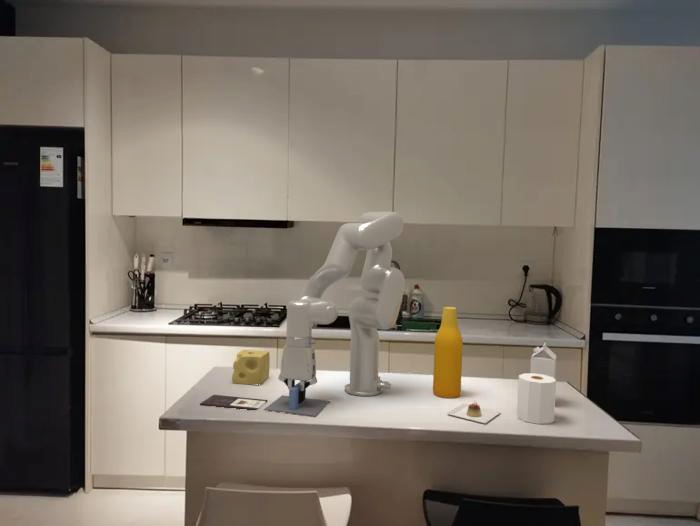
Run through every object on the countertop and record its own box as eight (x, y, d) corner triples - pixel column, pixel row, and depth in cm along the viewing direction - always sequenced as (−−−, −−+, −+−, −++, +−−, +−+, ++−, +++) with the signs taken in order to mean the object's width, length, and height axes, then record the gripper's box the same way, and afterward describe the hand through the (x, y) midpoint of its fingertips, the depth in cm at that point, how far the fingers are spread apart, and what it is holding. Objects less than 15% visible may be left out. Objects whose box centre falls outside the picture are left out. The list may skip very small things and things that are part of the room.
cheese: (231, 383, 183) (232, 355, 182) (243, 375, 193) (243, 348, 193) (260, 386, 181) (261, 357, 181) (270, 377, 192) (271, 350, 191)
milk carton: (554, 401, 173) (557, 343, 172) (552, 407, 167) (555, 347, 165) (531, 397, 176) (533, 340, 175) (528, 403, 170) (531, 344, 168)
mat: (330, 402, 166) (330, 400, 166) (315, 416, 153) (315, 415, 153) (282, 396, 170) (282, 395, 170) (263, 410, 157) (263, 409, 157)
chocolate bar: (213, 394, 169) (267, 400, 165) (213, 397, 169) (267, 403, 165) (199, 403, 160) (256, 409, 156) (199, 406, 160) (256, 412, 156)
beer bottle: (452, 389, 183) (455, 305, 181) (466, 397, 174) (469, 309, 173) (427, 391, 180) (430, 306, 178) (440, 399, 171) (444, 310, 170)
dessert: (485, 427, 150) (486, 410, 150) (446, 417, 157) (447, 401, 157) (500, 415, 160) (501, 400, 159) (463, 407, 167) (464, 392, 166)
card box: (294, 410, 157) (295, 390, 156) (288, 409, 157) (289, 389, 157) (305, 400, 165) (305, 381, 165) (299, 400, 166) (300, 381, 165)
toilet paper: (550, 413, 161) (552, 374, 160) (556, 426, 151) (558, 384, 150) (515, 410, 163) (517, 371, 162) (518, 422, 153) (520, 380, 152)
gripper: (327, 341, 162) (325, 401, 163) (279, 337, 166) (277, 395, 167) (319, 346, 154) (317, 409, 155) (269, 341, 158) (267, 402, 159)
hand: (297, 401), depth 161 cm, fingers closed on card box, 2 cm apart
